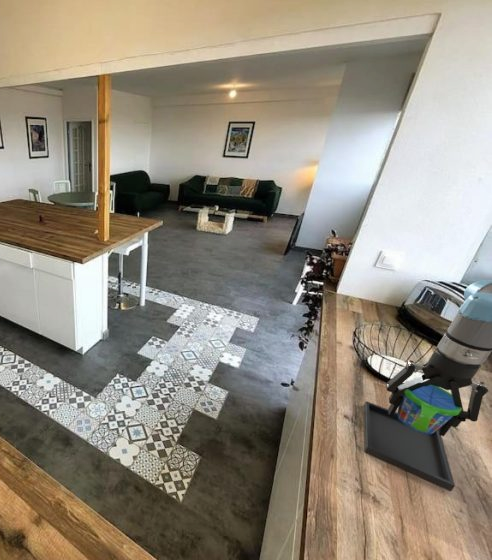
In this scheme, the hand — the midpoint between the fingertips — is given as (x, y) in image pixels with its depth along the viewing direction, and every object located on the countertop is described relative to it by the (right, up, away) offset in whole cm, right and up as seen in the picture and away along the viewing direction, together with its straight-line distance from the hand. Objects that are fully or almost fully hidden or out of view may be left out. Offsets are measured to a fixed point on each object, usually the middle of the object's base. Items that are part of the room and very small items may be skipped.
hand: (414, 422), depth 82 cm
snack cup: (0, 0, 0) cm, 0 cm away
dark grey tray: (0, -7, +4) cm, 8 cm away
